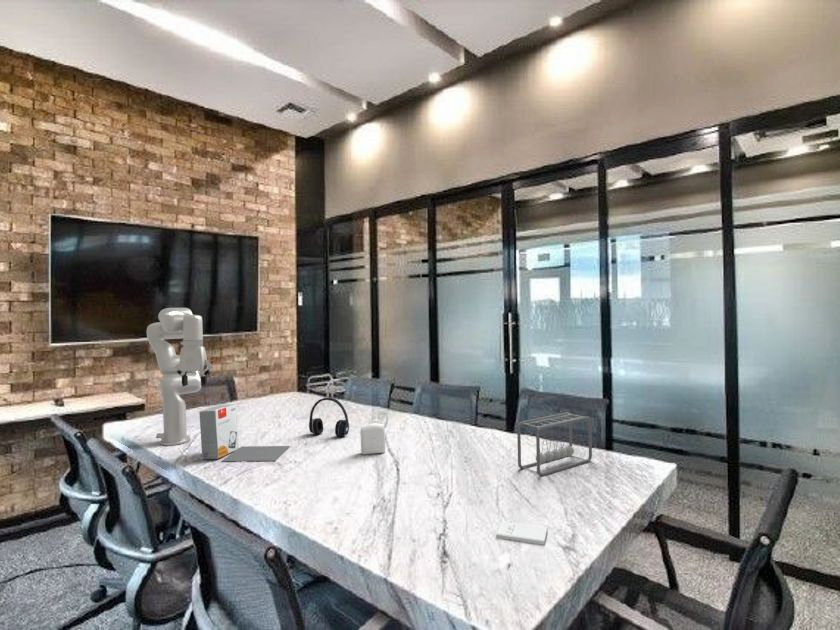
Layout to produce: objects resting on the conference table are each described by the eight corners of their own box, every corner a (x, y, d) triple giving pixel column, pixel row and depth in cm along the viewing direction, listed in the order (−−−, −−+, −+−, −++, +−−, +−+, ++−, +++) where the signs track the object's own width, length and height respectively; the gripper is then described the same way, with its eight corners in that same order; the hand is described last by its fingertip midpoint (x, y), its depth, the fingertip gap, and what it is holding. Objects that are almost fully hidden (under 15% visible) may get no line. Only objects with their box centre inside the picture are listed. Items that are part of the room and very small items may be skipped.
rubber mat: (221, 462, 191) (221, 461, 191) (241, 447, 211) (241, 446, 211) (275, 461, 190) (275, 460, 190) (290, 446, 210) (290, 445, 210)
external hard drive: (544, 547, 120) (496, 539, 124) (547, 532, 127) (501, 526, 132) (544, 541, 120) (495, 533, 124) (547, 526, 127) (501, 520, 132)
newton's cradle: (538, 477, 166) (537, 427, 166) (517, 469, 175) (516, 422, 175) (592, 461, 183) (591, 415, 182) (570, 454, 192) (570, 411, 191)
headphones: (307, 436, 228) (306, 398, 227) (314, 432, 234) (313, 395, 234) (344, 439, 221) (343, 400, 221) (350, 435, 228) (350, 397, 227)
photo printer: (361, 455, 196) (360, 425, 196) (360, 452, 200) (360, 423, 200) (385, 453, 198) (385, 424, 197) (384, 450, 202) (384, 421, 202)
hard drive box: (218, 459, 192) (214, 411, 192) (201, 459, 194) (197, 411, 194) (240, 448, 207) (236, 403, 207) (224, 448, 209) (221, 404, 209)
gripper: (168, 345, 197) (169, 387, 197) (209, 344, 196) (210, 386, 197) (177, 343, 204) (178, 384, 204) (217, 343, 204) (218, 383, 204)
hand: (194, 385), depth 200 cm, fingers open, 7 cm apart
